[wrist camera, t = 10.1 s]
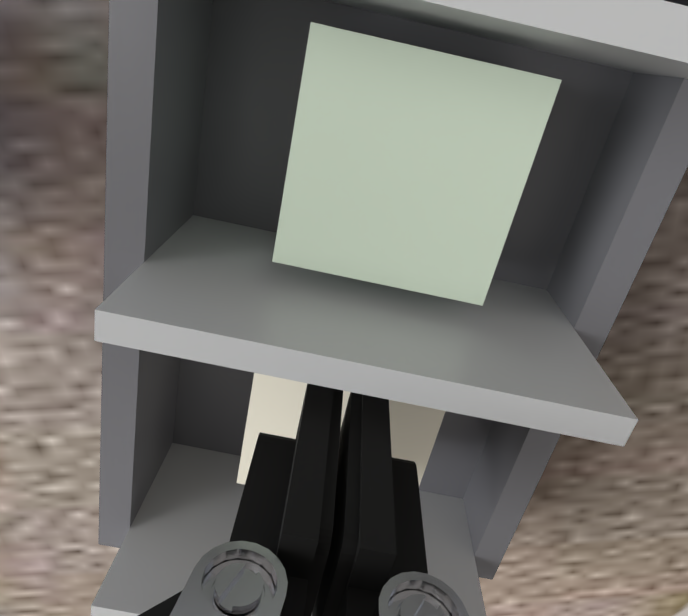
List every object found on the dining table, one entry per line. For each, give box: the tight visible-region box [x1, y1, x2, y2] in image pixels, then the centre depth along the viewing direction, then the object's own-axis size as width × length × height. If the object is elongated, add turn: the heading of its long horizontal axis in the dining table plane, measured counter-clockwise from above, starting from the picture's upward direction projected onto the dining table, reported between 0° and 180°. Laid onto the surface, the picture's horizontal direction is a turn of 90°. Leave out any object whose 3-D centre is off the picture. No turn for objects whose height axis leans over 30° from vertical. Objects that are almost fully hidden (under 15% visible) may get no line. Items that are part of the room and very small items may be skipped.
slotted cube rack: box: [91, 0, 688, 616], centre depth 10 cm, size 28×11×7 cm, turn 168°
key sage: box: [272, 22, 562, 306], centre depth 12 cm, size 4×4×3 cm
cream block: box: [237, 373, 446, 486], centre depth 14 cm, size 4×4×3 cm
